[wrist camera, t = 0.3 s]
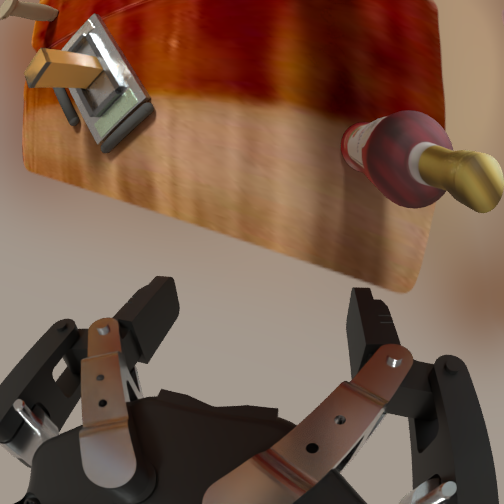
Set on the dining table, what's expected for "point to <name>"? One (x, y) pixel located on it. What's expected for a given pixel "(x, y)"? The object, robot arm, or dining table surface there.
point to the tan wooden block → (62, 69)
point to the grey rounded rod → (66, 106)
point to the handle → (27, 10)
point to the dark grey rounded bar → (127, 127)
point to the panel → (105, 81)
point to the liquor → (421, 163)
